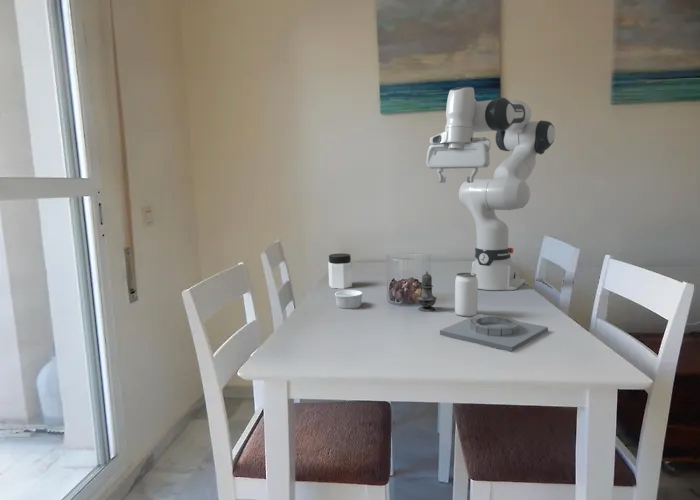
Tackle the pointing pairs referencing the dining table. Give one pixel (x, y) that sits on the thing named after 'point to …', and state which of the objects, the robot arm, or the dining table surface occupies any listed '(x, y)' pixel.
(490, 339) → the board
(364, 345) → the dining table surface
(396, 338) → the dining table surface
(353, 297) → the ramekin
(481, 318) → the collar
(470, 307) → the can
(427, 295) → the salt shaker
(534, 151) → the robot arm
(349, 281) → the jar
